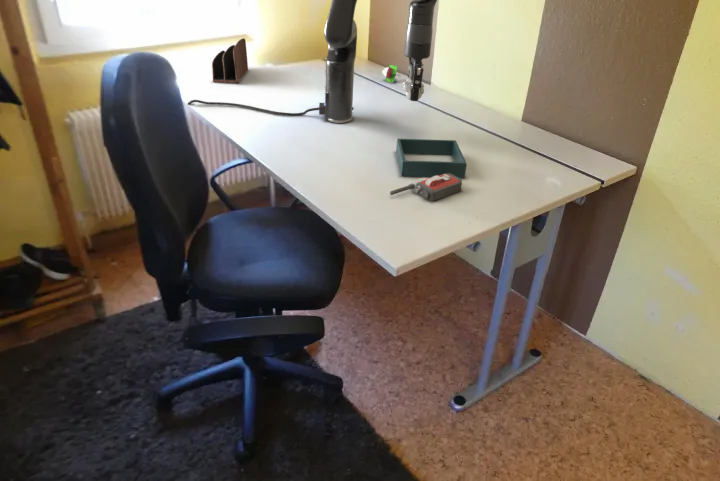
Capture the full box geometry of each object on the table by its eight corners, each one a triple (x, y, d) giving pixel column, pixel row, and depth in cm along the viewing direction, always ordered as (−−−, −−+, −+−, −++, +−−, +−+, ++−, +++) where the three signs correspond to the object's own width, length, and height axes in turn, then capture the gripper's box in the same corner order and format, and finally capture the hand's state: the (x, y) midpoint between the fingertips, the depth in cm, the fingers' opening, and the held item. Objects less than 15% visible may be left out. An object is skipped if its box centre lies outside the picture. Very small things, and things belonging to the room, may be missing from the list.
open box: (401, 176, 151) (402, 161, 148) (395, 152, 165) (397, 138, 162) (464, 178, 152) (466, 163, 149) (453, 154, 166) (455, 140, 163)
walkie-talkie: (442, 177, 151) (387, 196, 140) (444, 163, 149) (388, 180, 138) (465, 190, 146) (410, 210, 135) (468, 175, 143) (412, 194, 132)
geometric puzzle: (391, 72, 232) (386, 58, 226) (405, 75, 229) (400, 61, 222) (383, 85, 231) (377, 72, 224) (396, 88, 227) (391, 75, 221)
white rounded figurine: (397, 98, 167) (399, 75, 164) (417, 96, 170) (420, 74, 166) (406, 105, 163) (408, 81, 159) (427, 102, 165) (429, 79, 161)
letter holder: (248, 70, 232) (246, 35, 225) (237, 84, 215) (235, 47, 208) (224, 69, 232) (222, 34, 225) (212, 82, 215) (209, 45, 208)
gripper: (402, 33, 162) (398, 89, 171) (408, 44, 150) (402, 104, 159) (427, 34, 163) (421, 90, 172) (435, 45, 151) (428, 105, 160)
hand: (412, 96), depth 166 cm, fingers closed on white rounded figurine, 6 cm apart
